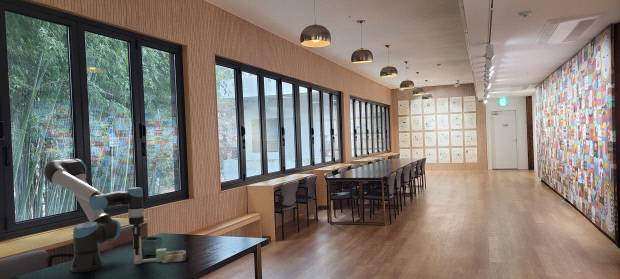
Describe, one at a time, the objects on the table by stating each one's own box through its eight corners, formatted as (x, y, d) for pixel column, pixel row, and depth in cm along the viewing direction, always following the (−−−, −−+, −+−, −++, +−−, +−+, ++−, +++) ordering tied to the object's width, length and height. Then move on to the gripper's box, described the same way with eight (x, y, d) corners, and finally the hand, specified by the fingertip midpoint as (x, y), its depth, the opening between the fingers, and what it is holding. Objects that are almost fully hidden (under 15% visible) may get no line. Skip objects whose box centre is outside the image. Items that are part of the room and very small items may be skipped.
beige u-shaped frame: (162, 263, 242) (162, 256, 242) (163, 258, 252) (163, 252, 252) (185, 260, 245) (185, 254, 245) (186, 256, 255) (185, 250, 255)
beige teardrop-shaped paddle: (133, 264, 241) (132, 238, 241) (134, 262, 246) (133, 236, 246) (166, 261, 245) (164, 235, 245) (166, 258, 250) (165, 233, 250)
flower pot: (155, 256, 258) (154, 240, 258) (141, 255, 260) (140, 240, 260) (163, 252, 267) (162, 236, 267) (149, 252, 269) (149, 236, 269)
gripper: (142, 218, 236) (143, 263, 237) (145, 213, 253) (146, 255, 253) (126, 219, 235) (128, 264, 235) (130, 214, 251) (132, 256, 251)
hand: (137, 259), depth 244 cm, fingers closed on beige teardrop-shaped paddle, 4 cm apart
